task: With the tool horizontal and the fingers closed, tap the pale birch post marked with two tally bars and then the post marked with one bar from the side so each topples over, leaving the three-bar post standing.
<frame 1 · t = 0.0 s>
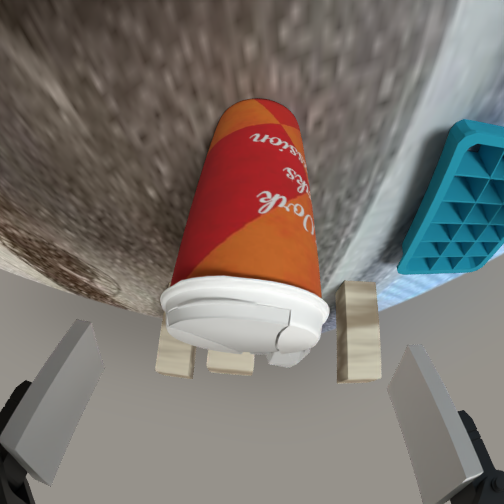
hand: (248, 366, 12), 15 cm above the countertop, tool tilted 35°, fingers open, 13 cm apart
post 2: (186, 289, 46), on the countertop
post 1: (240, 259, 37), on the countertop
paper cup: (258, 128, 20), on the countertop
ice cube tray: (466, 195, 24), on the countertop
post 3: (354, 288, 42), on the countertop
die: (286, 323, 59), on the countertop
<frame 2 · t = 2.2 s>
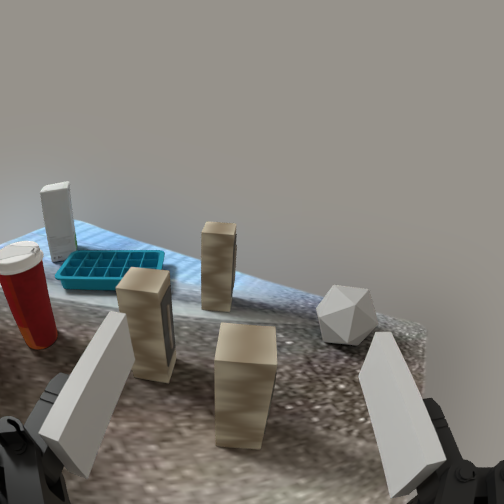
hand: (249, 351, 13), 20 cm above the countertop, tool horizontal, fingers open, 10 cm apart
post 2: (239, 430, 29), on the countertop
post 1: (155, 367, 36), on the countertop
paper cup: (41, 338, 37), on the countertop
ice cube tray: (112, 278, 56), on the countertop
post 3: (217, 302, 51), on the countertop
skincare box: (64, 254, 62), on the countertop
die: (339, 338, 45), on the countertop
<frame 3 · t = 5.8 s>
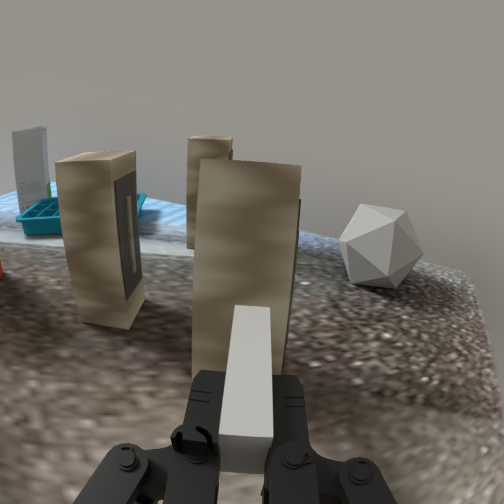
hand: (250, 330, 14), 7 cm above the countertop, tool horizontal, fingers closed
post 2: (235, 392, 18), point 1 cm above the countertop, tilted 16°, touching gripper
post 1: (113, 310, 25), on the countertop
ice cube tray: (83, 224, 44), on the countertop
post 3: (207, 242, 39), on the countertop
skincare box: (35, 207, 50), on the countertop
die: (370, 281, 33), on the countertop
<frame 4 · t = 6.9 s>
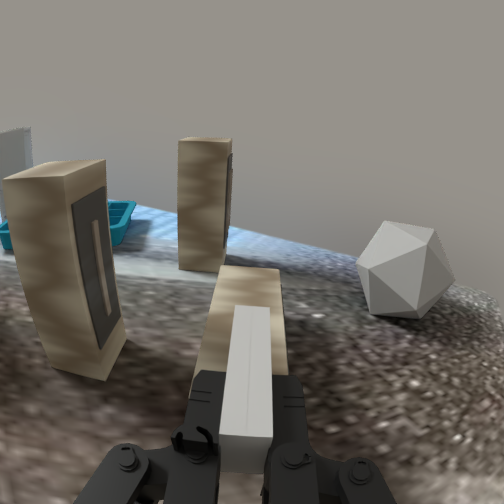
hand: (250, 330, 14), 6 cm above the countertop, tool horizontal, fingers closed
post 2: (237, 429, 14), point 2 cm above the countertop, tilted 90°
post 1: (89, 353, 19), on the countertop
ice cube tray: (66, 236, 39), on the countertop
post 3: (203, 261, 34), on the countertop
skincare box: (20, 215, 45), on the countertop
die: (392, 309, 28), on the countertop
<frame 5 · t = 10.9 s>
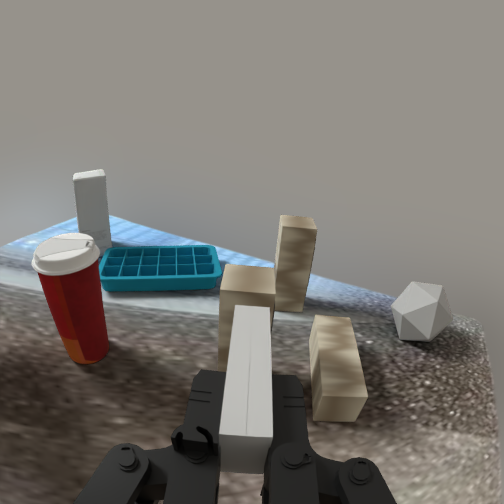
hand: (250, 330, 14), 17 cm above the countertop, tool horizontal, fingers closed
post 2: (339, 410, 27), point 2 cm above the countertop, tilted 90°
post 1: (240, 378, 33), on the countertop
paper cup: (88, 350, 34), on the countertop
ice cube tray: (159, 277, 52), on the countertop
post 3: (285, 302, 47), on the countertop
skincare box: (96, 250, 58), on the countertop
die: (412, 335, 41), on the countertop
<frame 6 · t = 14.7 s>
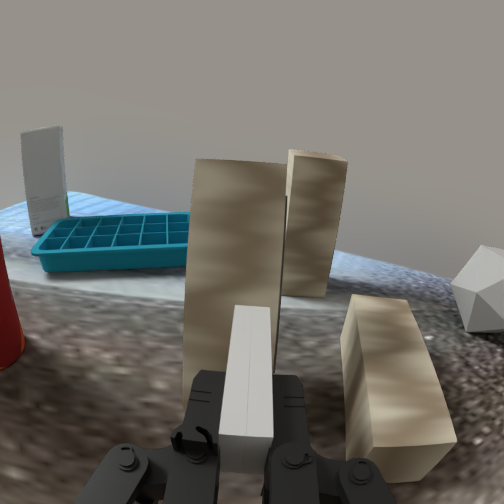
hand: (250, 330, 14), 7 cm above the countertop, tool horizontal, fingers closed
post 2: (399, 467, 11), point 2 cm above the countertop, tilted 90°
post 1: (227, 398, 17), point 1 cm above the countertop, tilted 25°, touching gripper
ice cube tray: (120, 254, 36), on the countertop
post 3: (299, 284, 32), on the countertop
skincare box: (51, 226, 42), on the countertop
die: (478, 325, 26), on the countertop
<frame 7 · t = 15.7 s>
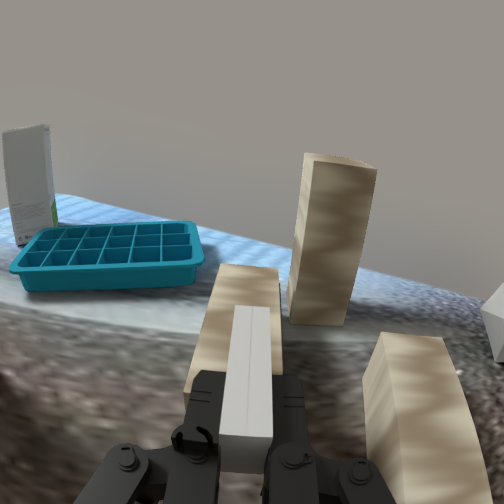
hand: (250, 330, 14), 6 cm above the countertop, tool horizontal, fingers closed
post 1: (231, 424, 14), point 2 cm above the countertop, tilted 90°
ice cube tray: (109, 269, 32), on the countertop
post 3: (313, 309, 27), on the countertop
skincare box: (37, 234, 38), on the countertop
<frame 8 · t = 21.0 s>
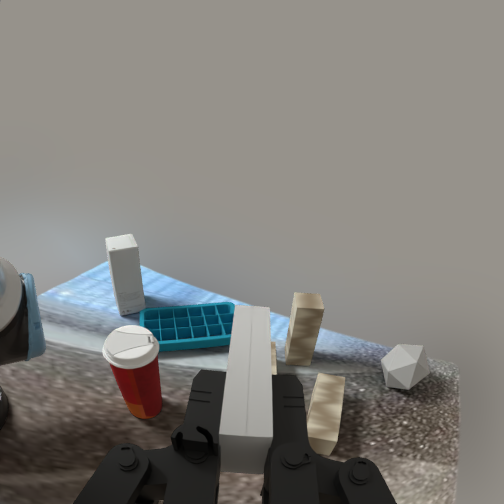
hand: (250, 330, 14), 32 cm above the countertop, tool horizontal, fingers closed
post 2: (317, 446, 37), point 2 cm above the countertop, tilted 90°
paper cup: (145, 406, 43), on the countertop
ice cube tray: (190, 334, 62), on the countertop
post 3: (297, 357, 57), on the countertop
skincare box: (129, 305, 68), on the countertop
die: (397, 382, 51), on the countertop
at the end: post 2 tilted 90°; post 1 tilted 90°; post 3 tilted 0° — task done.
